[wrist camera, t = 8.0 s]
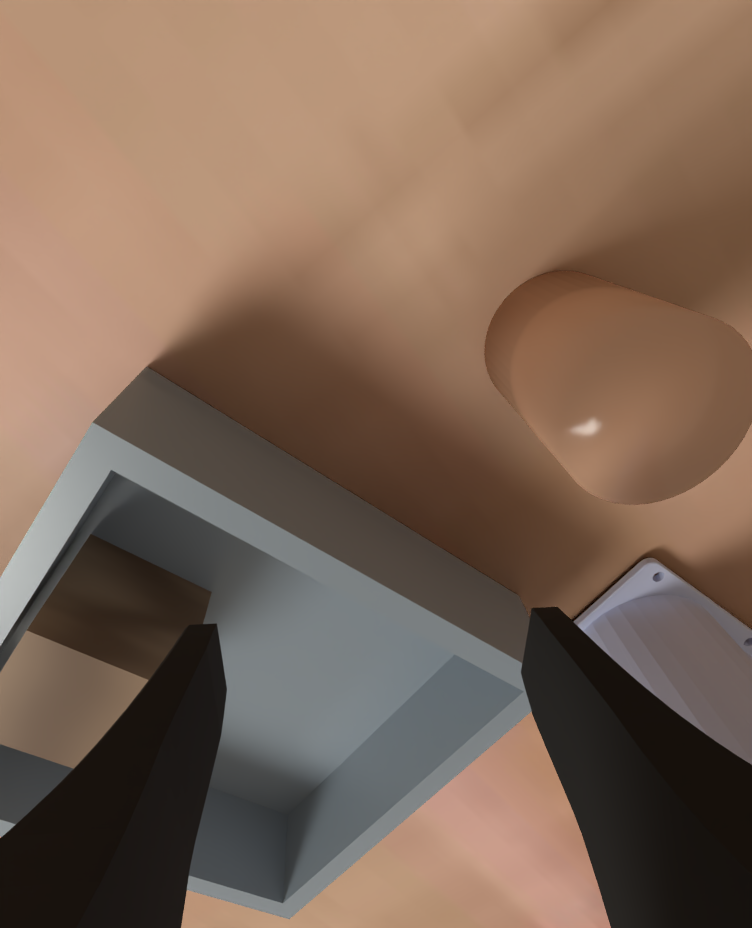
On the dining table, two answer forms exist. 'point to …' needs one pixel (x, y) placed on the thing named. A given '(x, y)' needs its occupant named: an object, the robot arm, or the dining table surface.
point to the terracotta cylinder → (621, 384)
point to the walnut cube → (92, 651)
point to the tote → (282, 640)
